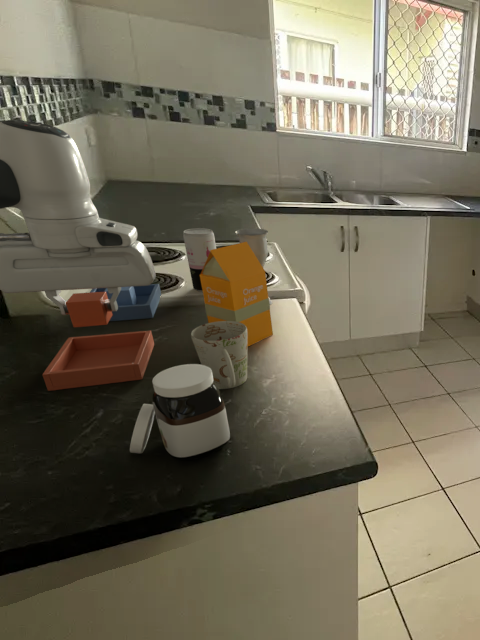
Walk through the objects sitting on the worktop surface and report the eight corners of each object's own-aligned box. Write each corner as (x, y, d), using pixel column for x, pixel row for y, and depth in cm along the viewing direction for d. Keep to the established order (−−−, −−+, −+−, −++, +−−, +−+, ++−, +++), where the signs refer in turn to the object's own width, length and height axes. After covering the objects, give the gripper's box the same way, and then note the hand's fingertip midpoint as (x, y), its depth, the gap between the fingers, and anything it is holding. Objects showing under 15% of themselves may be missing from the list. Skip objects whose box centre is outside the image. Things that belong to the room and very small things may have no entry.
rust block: (73, 327, 80) (65, 302, 78) (80, 317, 83) (73, 293, 81) (107, 324, 82) (100, 300, 80) (112, 315, 85) (106, 291, 83)
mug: (247, 365, 91) (240, 317, 86) (266, 395, 82) (259, 344, 78) (197, 376, 86) (186, 326, 81) (211, 409, 77) (200, 355, 73)
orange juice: (211, 341, 98) (193, 246, 89) (245, 327, 105) (232, 238, 97) (241, 350, 96) (226, 254, 87) (274, 334, 103) (262, 244, 95)
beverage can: (219, 282, 128) (210, 227, 122) (225, 290, 124) (216, 233, 118) (191, 286, 124) (180, 229, 118) (196, 293, 120) (184, 235, 114)
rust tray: (48, 391, 77) (42, 374, 76) (73, 352, 89) (68, 337, 88) (142, 379, 83) (138, 363, 82) (154, 344, 95) (151, 330, 93)
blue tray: (80, 323, 100) (75, 310, 98) (96, 299, 111) (93, 287, 110) (153, 318, 105) (149, 305, 104) (161, 295, 117) (159, 283, 116)
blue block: (109, 310, 105) (103, 291, 103) (113, 303, 109) (108, 284, 107) (134, 308, 107) (129, 290, 105) (137, 301, 111) (132, 283, 109)
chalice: (247, 298, 120) (237, 227, 113) (277, 297, 122) (269, 228, 115) (244, 309, 114) (233, 235, 106) (275, 308, 116) (266, 235, 109)
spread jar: (240, 450, 69) (228, 381, 64) (147, 487, 61) (125, 411, 56) (209, 414, 76) (196, 349, 71) (122, 443, 68) (100, 372, 63)
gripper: (-32, 238, 69) (2, 325, 75) (141, 235, 78) (159, 313, 84) (-13, 228, 74) (17, 310, 80) (147, 227, 83) (163, 300, 89)
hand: (91, 312), depth 82 cm, fingers closed on rust block, 4 cm apart
